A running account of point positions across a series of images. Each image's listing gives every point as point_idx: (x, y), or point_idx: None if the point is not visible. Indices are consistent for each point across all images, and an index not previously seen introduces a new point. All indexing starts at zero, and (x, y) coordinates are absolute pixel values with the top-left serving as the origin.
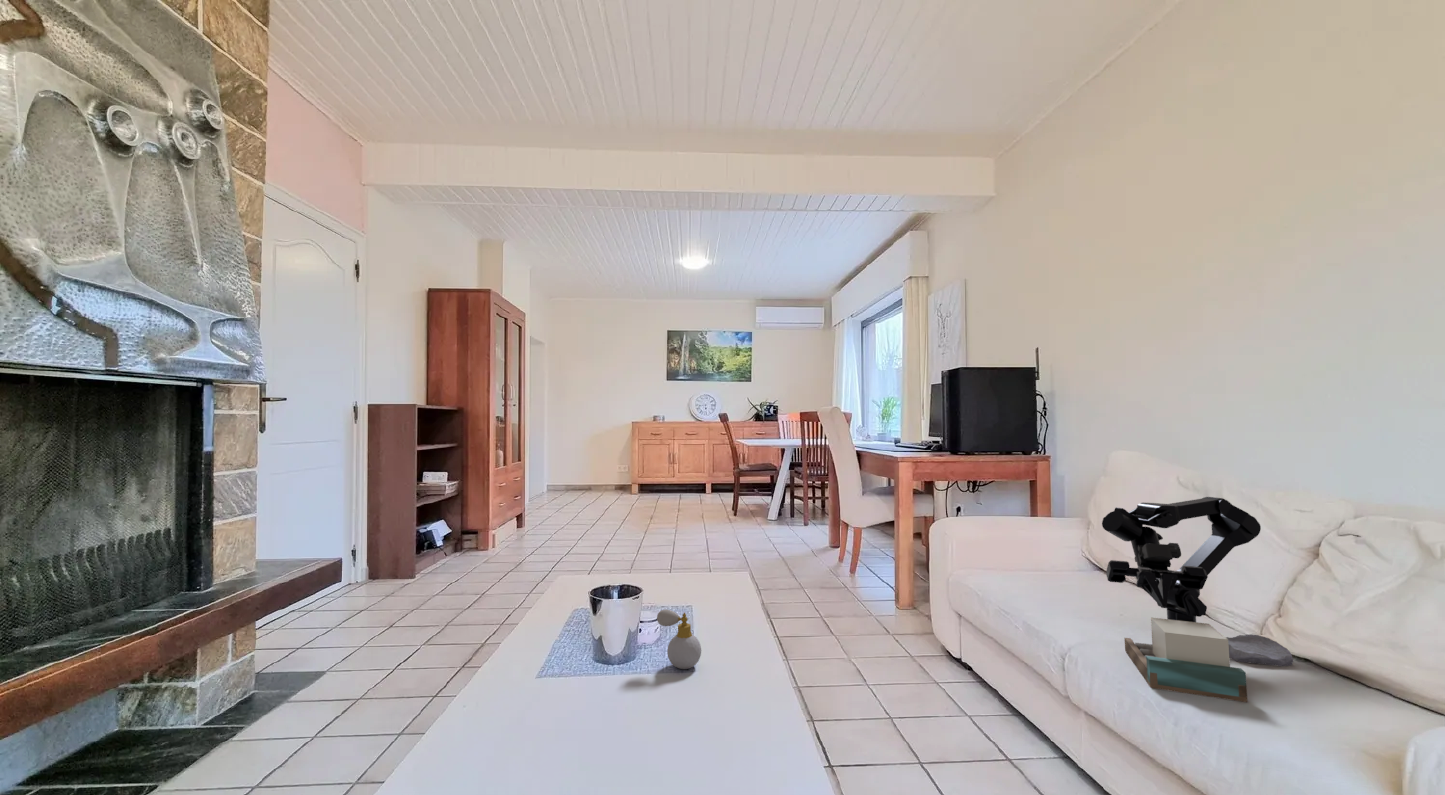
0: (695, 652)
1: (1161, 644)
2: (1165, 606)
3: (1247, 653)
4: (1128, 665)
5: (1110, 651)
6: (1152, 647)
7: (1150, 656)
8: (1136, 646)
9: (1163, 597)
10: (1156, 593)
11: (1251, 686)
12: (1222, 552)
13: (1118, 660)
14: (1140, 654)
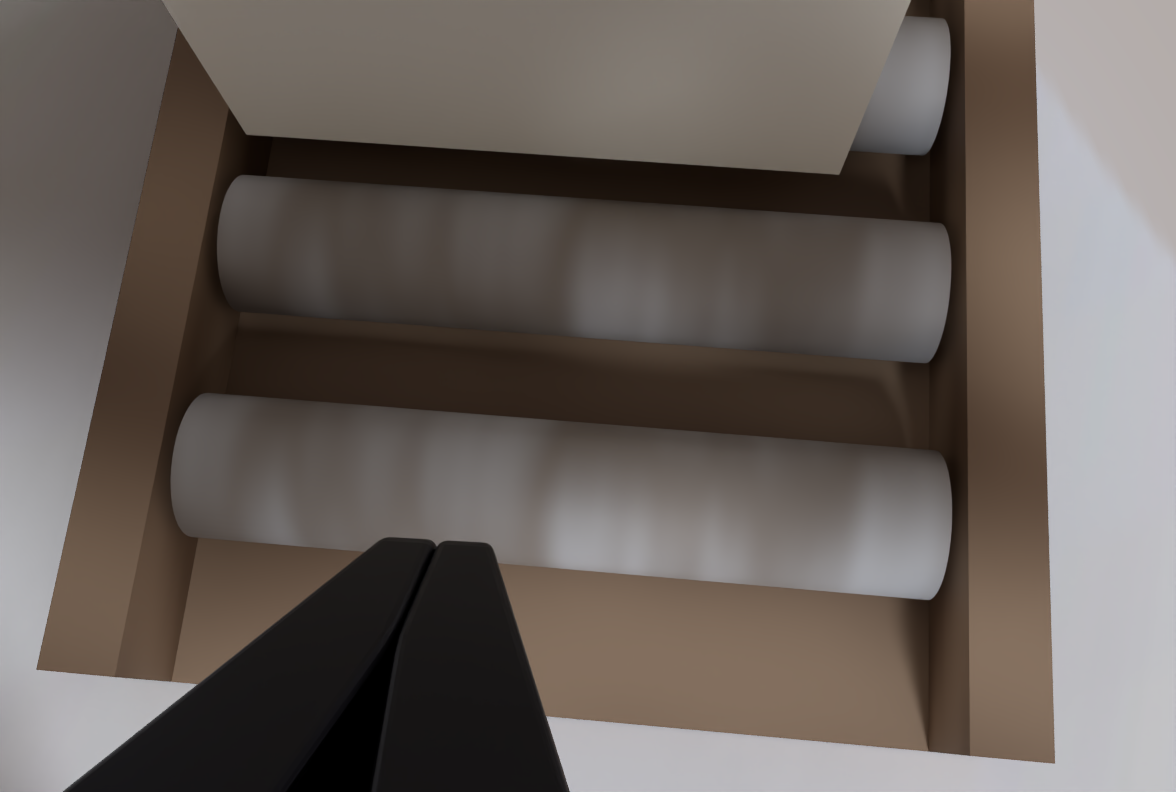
0: None
1: None
2: (419, 543)
3: None
4: (1049, 242)
5: (1172, 668)
6: (853, 138)
7: (904, 35)
8: (971, 388)
9: (356, 660)
10: (535, 780)
11: (67, 70)
12: None
13: (1127, 364)
14: (991, 102)
